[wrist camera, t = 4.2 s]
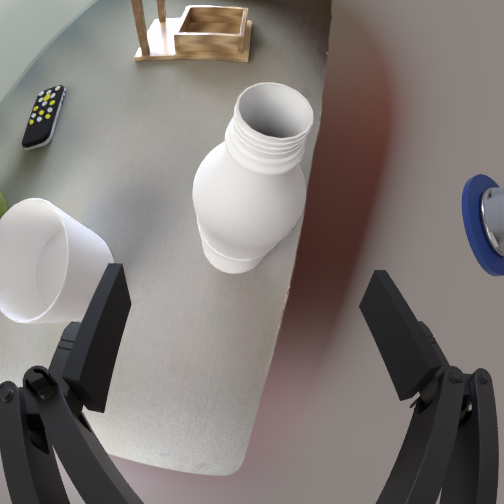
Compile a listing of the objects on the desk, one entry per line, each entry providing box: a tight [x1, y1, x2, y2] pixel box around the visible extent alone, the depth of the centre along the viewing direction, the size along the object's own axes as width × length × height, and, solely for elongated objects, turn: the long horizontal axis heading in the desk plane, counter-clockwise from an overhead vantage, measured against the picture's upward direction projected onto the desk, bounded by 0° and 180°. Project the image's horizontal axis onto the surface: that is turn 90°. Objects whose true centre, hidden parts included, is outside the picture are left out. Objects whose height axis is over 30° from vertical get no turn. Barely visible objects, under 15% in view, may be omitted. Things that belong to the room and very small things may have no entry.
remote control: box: [22, 85, 66, 150], centre depth 33 cm, size 6×13×2 cm, turn 6°
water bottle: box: [193, 82, 314, 274], centre depth 22 cm, size 7×7×25 cm
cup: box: [0, 198, 114, 324], centre depth 25 cm, size 12×12×12 cm
